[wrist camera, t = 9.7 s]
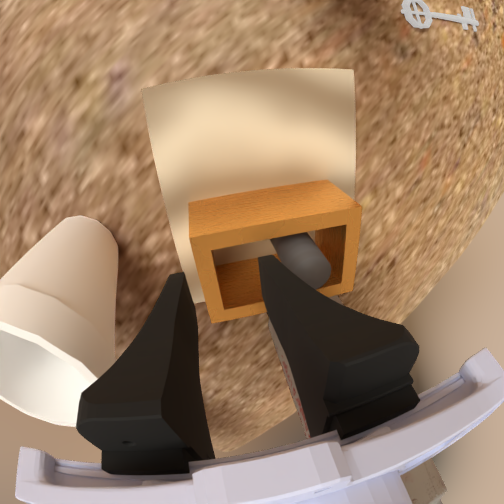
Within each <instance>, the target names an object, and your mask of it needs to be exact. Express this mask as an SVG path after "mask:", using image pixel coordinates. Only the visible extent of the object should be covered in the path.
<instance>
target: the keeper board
mask: <svg viewBox="0 0 504 504" xmlns="http://www.w3.org/2000/svg"><path fill="white" fill-rule="evenodd" d="M141 92H142V98H143V104H144V109H145V115H146V120H147V126H148V131H149V136H150V141H151V146H152V151H153V156H154V160H155V165H156V169H157V174H158V178H159V183H160V187H161V191H162V195H163V199H164V203H165V208H166V212H167V215H168V219H169V223H170V227H171V231H172V235H173V238H174V242H175V246H176V249H177V253H178V256H179V260H180V263H181V267H182V270H183V272H184V273H185V276H186V279H187V283H188V286H189V289H190V293H191V296H192V299H193V302H194V303H199V302H205V298H204V294H203V291H202V287H201V283H200V280H199V276H198V272H197V268H196V264H195V260H194V256H193V252H192V248H191V244H190V240H189V212H188V202H193V201H198V200H203V199H208V198H213V197H219V196H224V195H230V194H235V193H241V192H247V191H253V190H259V189H265V188H271V187H278V186H284V185H291V184H298V183H305V182H312V181H320V180H329V181H330V182H331V183H333V184H334V185H335V186H337V187H338V188H339V189H340V190H342V191H343V192H344V193H346V194H347V195H348V196H349V197H351V198H352V199H353V200H354V195H355V169H356V109H355V84H354V70H351V69H331V68H285V69H265V70H252V71H241V72H232V73H223V74H216V75H209V76H202V77H196V78H190V79H185V80H180V81H175V82H170V83H165V84H161V85H156V86H152V87H148V88H144V89H141ZM213 253H214V258H215V263H216V266H217V265H222V264H227V263H232V262H237V261H242V260H247V259H252V258H257V257H262V256H267V255H272V254H278V256H279V258H280V260H281V262H282V264H284V265H285V266H286V267H287V268H288V269H289V270H290V271H292V272H293V273H294V274H295V275H297V276H298V277H299V278H300V279H302V280H303V281H304V282H306V283H307V284H308V285H310V286H311V287H313V288H314V289H315V290H316V289H318V288H320V287H321V286H323V285H324V284H325V283H326V282H327V280H328V279H329V277H330V274H331V265H330V263H329V262H328V260H327V259H326V257H325V256H324V255H323V253H322V252H321V251H320V249H319V248H318V246H317V245H316V244H315V230H314V231H309V232H303V233H298V234H293V235H287V236H282V237H277V238H272V239H267V240H261V241H256V242H251V243H246V244H241V245H236V246H230V247H225V248H220V249H215V250H213Z"/></svg>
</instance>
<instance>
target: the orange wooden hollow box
mask: <svg viewBox="0 0 504 504" xmlns="http://www.w3.org/2000/svg"><path fill="white" fill-rule="evenodd" d="M188 212H189V240H190V244H191V248H192V252H193V256H194V260H195V264H196V268H197V272H198V276H199V280H200V283H201V287H202V291H203V294H204V298H205V302H206V305H207V309H208V312H209V316H210V319H211V323H217V322H223V321H228V320H233V319H237V318H242V317H247V316H252V315H256V314H261V313H265V312H267V310H266V307H265V304H264V300H263V297H262V291H261V282H260V273H259V264H258V257H257V258H252V259H247V260H242V261H237V262H232V263H227V264H222V265H217V266H216V263H215V258H214V253H213V250H215V249H220V248H225V247H230V246H236V245H241V244H246V243H251V242H256V241H261V240H267V239H272V238H277V237H282V236H287V235H293V234H298V233H303V232H309V231H314V230H315V244H316V245H317V246H318V248H319V249H320V251H321V252H322V253H323V255H324V256H325V257H326V259H327V260H328V262H329V263H330V265H331V274H330V277H329V279H328V280H327V282H326V283H325V284H324V285H323V286H321V287H320V288H318V289H316V290H317V291H318V292H320V293H321V294H323V295H325V296H327V297H332V296H335V295H339V294H343V293H347V292H350V291H353V285H354V278H355V271H356V263H357V255H358V246H359V236H360V226H361V214H362V206H361V205H359V204H358V203H357V202H356V201H354V200H353V199H352V198H351V197H349V196H348V195H347V194H346V193H344V192H343V191H342V190H340V189H339V188H338V187H337V186H335V185H334V184H333V183H331V182H330V181H329V180H320V181H312V182H305V183H298V184H291V185H284V186H278V187H271V188H265V189H259V190H253V191H247V192H241V193H235V194H230V195H224V196H219V197H213V198H208V199H203V200H198V201H193V202H188ZM272 255H274V256H275V257H276V258H277V259H278V260H279V261H280V262H281V260H280V258H279V256H278V254H272ZM281 263H282V262H281Z"/></svg>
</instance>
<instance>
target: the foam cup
mask: <svg viewBox="0 0 504 504" xmlns="http://www.w3.org/2000/svg"><path fill="white" fill-rule="evenodd" d="M118 261H119V260H118V245H117V243H116V241H115V239H114V237H113V235H112V233H111V231H109V230H108V229H107V228H106V227H105V226H103V225H102V224H101V223H100V222H99V221H98V220H95V219H92V218H88V217H85V216H82V215H80V216H74V217H69V218H65V219H64V220H63V221H62V222H60V223H59V224H58V225H57V226H56V227H55V228H53V229H52V230H51V231H50V232H49V233H48V234H47V235H46V236H44V237H43V238H42V239H41V240H40V241H39V242H38V243H37V244H36V245H35V246H34V247H32V248H31V249H30V250H29V251H28V252H27V253H26V254H25V255H24V256H23V257H22V258H21V259H20V260H19V261H18V262H17V263H16V264H15V265H14V266H13V267H12V268H11V269H10V270H9V271H8V272H7V273H6V274H5V275H4V276H3V277H2V278H1V280H0V399H1V400H3V401H5V402H6V403H8V404H10V405H11V406H13V407H15V408H16V409H18V410H20V411H22V412H23V413H25V414H27V415H30V416H32V417H35V418H38V419H41V420H44V421H47V422H50V423H53V424H56V425H63V426H72V427H76V422H77V414H78V406H79V400H80V396H81V392H83V391H84V390H85V389H86V388H88V387H89V386H90V385H91V384H92V383H94V382H95V381H96V380H97V379H98V378H100V377H101V376H102V375H103V374H104V373H105V372H106V371H107V370H108V369H109V368H110V367H111V366H112V365H113V364H114V363H115V362H116V359H115V308H116V289H117V275H118Z"/></svg>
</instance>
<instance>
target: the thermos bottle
mask: <svg viewBox="0 0 504 504" xmlns="http://www.w3.org/2000/svg"><path fill="white" fill-rule="evenodd" d="M328 298H330V299H332V300H334V301H336V302H337V303H340V304H342V305H343V303H342V302H341V300H340V299H339V297H338V295H335V296H332V297H328ZM268 325H269V330H270V333H271V336H272V339H273V342H274V345H275V348H276V351H277V354H278V357H279V360H280V363H281V366H282V369H283V371H284V374H285V377H286V380H287V383H288V386H289V389H290V392H291V395H292V398H293V400H294V403H295V406H296V409H297V411H298V414H299V416H300V420H301V422H302V426H303V429H304V431H305V435H306V438H307V439H309V438H311V437H310V434H309V430H308V426H307V423H306V419H305V415H304V412H303V409H302V405H301V402H300V398H299V395H298V392H297V388H296V385H295V382H294V379H293V375H292V372H291V369H290V366H289V363H288V360H287V358H286V355H285V353H284V350H283V348H282V346H281V344H280V341H279V339H278V337H277V335H276V332H275V330H274V328H273V325H272V323H271V321H270V319H269V324H268ZM400 477H401V479H402V481H403V483H404V486H405V488H406V490H407V492H408V495H409V497H410V499H411V501H412V504H442V502H441V497H442V496H443V495H444V494H445V492H446V491H447V489H446V486H445V484H444V482H443V480H442V478H441V476H440V474H439V472H438V470H437V468H436V466H435V464H434V462H433V460H432V458H430V459H428V460H427V461H425V462H423V463H422V464H420V465H418V466H417V467H415V468H413V469H411V470H410V471H408V472H406V473H404V474H402V475H400Z"/></svg>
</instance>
